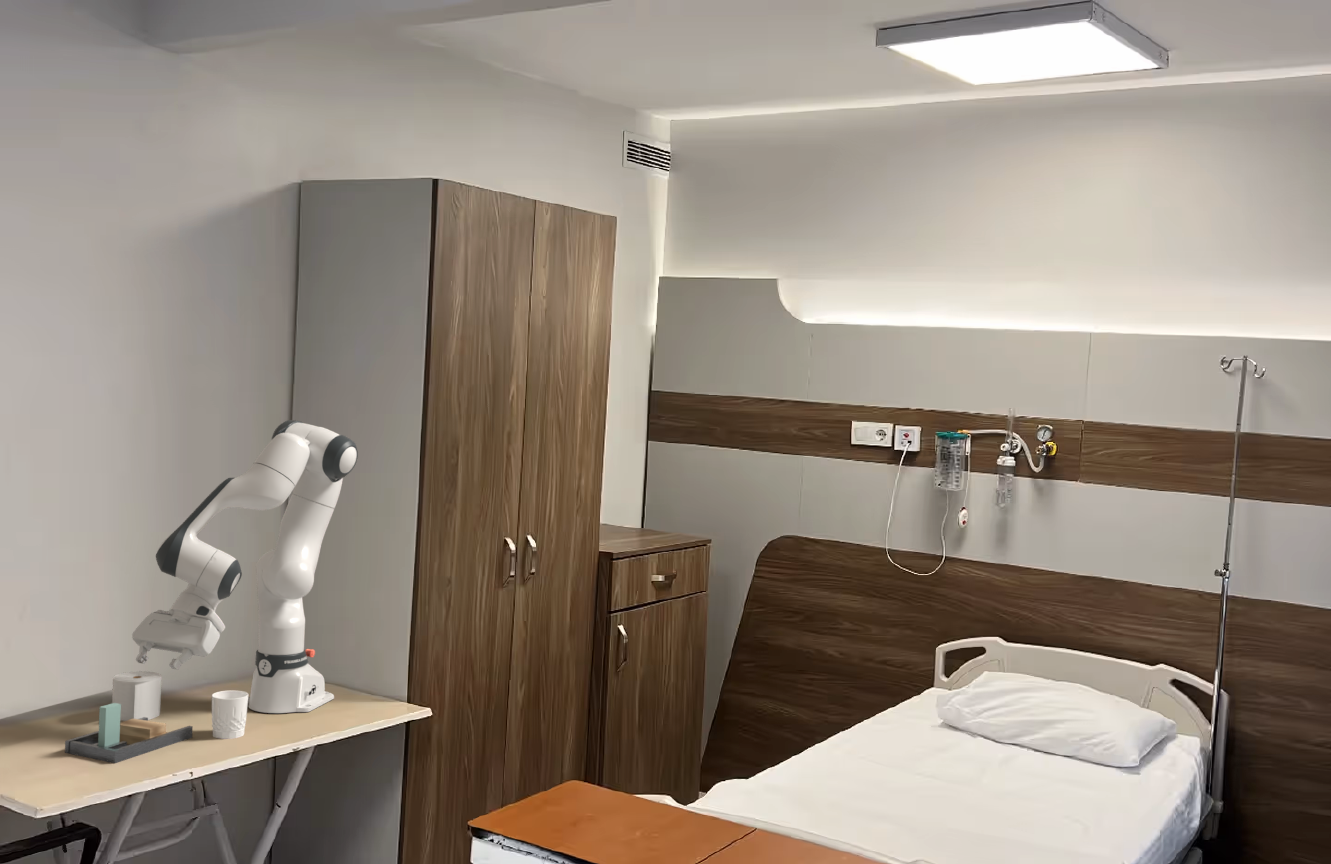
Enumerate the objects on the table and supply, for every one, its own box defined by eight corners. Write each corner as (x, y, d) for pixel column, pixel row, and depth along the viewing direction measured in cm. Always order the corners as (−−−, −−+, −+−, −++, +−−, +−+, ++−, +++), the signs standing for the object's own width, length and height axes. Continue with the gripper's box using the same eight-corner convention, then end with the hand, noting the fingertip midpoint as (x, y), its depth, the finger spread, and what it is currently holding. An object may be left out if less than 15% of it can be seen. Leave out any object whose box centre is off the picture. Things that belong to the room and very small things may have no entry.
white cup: (209, 734, 280) (211, 691, 280) (245, 732, 283) (247, 689, 283) (210, 744, 273) (212, 699, 273) (247, 741, 276) (249, 698, 276)
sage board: (112, 748, 263) (114, 702, 263) (119, 750, 263) (120, 704, 262) (97, 753, 260) (99, 706, 259) (104, 754, 259) (106, 708, 259)
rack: (144, 731, 280) (144, 717, 279) (191, 740, 274) (192, 726, 274) (64, 756, 259) (65, 740, 259) (114, 767, 254) (115, 751, 254)
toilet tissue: (143, 709, 297) (145, 668, 297) (172, 719, 290) (174, 677, 290) (101, 717, 288) (103, 675, 288) (131, 728, 282) (132, 685, 281)
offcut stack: (133, 734, 274) (134, 716, 274) (168, 741, 270) (169, 723, 270) (111, 741, 268) (112, 723, 268) (146, 748, 265) (147, 730, 264)
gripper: (147, 601, 282) (112, 650, 273) (219, 612, 275) (185, 663, 266) (160, 617, 286) (126, 666, 277) (231, 628, 279) (199, 679, 270)
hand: (156, 664), depth 272 cm, fingers open, 8 cm apart
